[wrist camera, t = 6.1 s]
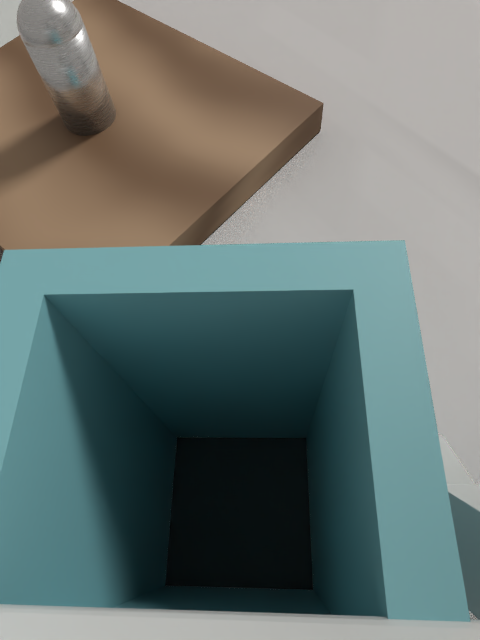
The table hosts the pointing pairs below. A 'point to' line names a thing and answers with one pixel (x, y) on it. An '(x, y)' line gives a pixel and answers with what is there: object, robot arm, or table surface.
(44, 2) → the steel stub
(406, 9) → the table surface
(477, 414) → the table surface
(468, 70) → the table surface
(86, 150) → the walnut plate
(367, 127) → the table surface
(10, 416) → the teal sleeve
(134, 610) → the robot arm
